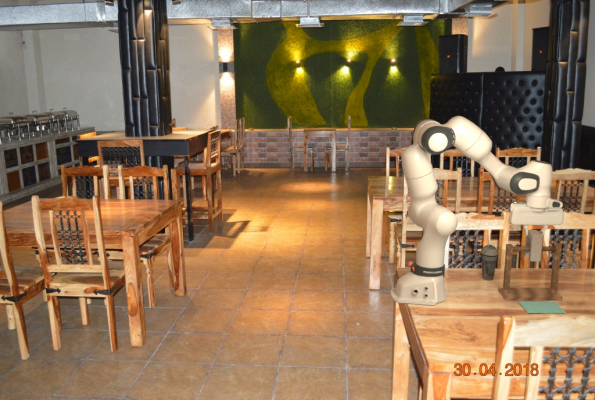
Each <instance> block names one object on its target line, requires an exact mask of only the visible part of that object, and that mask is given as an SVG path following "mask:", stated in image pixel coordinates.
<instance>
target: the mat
mask: <svg viewBox="0 0 595 400" xmlns="http://www.w3.org/2000/svg"><path fill="white" fill-rule="evenodd" d="M518 304H519V305H520V307H521V308H522V309H523V310H524V309H525V310H526V311H525V310H524V311H525V312H526V313H527V314H528V313H564V314H563V315H566V314H567V311H565V310H564V309H563V308H562V307H561V306H560V305H559V304H558V303H557V301H518Z"/></svg>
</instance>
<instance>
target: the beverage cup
mask: <svg viewBox="0 0 595 400" xmlns="http://www.w3.org/2000/svg"><path fill="white" fill-rule="evenodd" d="M480 257H481V272H482V273H481V274H482V277H481V278H482V280H484V281H493V280H494V277H495V272H496V266H497V260H498V257H499V251H498V248H497V247H495V245H492V244H490V241H489V235H488V234H487V244H486V245H484V246H483V247H482V248H481V252H480Z"/></svg>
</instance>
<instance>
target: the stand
mask: <svg viewBox="0 0 595 400" xmlns="http://www.w3.org/2000/svg"><path fill="white" fill-rule="evenodd" d="M524 251H530V246H525V245H524V246H523V245H522V246H518V245H517V246H516V245H515V246H514V245H513V244H511V243H506V244H505V255H504V270H503V281H502V287H497V291H498V293H500V295H501V296H502V297H503V299H504V300H505V301H507V302H509V301H513V302H514V301H518V302H557V301H560V302H562V301H563V296H562V295H561V294H559V292H558V287H559V286H558V284H559V276H560V265H561V258H562V257H561V255H562V244H560V243H554V244H553V246H551V245H549V246H548V245H546V246H545V245H542V251H541V252H553V255H552V267H551V276H550V286H549V287H511V275H512V265H513V264H512V262H513V252H524Z"/></svg>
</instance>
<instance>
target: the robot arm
mask: <svg viewBox="0 0 595 400" xmlns="http://www.w3.org/2000/svg"><path fill="white" fill-rule="evenodd" d="M410 142H411V145H408V146H407V147H406V148H404V149H403V150H402V152H401V154H400V156H401V158H400V159H401V167H402V171H403V175H404V178H405V183H406V185H407V188H408V192H409V193H408V194H409V202H410V203H409V204H410V205H409V206H408V209H407V217H408V218H409V220H410V221H412V223H413V224H415V225H416V226H418V227H420V228H421V229H423V235H422V238H421V239H420V240H419V241H418V242H417V243H416V248H415V249H416V250H415V251H416V255H415V262H413V261H412V260H409V261H408V263H407V264H408V266H409V268H410V270H409V271H408V272H406V273H405V274H403V275H402V276H400V277H399V278H398V279H397V282H396V286H395V287H392V288H391V290H390V292H389V294H390V298H391V299H392V300H393V301H394V302H396V303H398V304H411V305H423V306H436V305H438V304H439V303H441V302H444V301H446V300H447V298H448V297H447V294H446V288H445V275H446V265H445V252H446V245H447V242H448V239H449V237H450V236H451V235H452V234H453V233H455V231H456V229H457V228H458V225H459V224H458V223H459V221H458V217H457V215H456V214H455V213H454V212H453V211H452V210H450V209H449V208H446V207H445V206H442V205H440V204H438V203H437V200H436V192H437V190H438V187H439V186H438V182H437V179H436V175H435V171H434V168H433V164H432V159H431V156H432V155H435V156H436V155H437V156H438V155H441V154H444V153H445V152H447V150H449V149H450V148H452V147H454V148H456V149H457V150H458V151H459V152H461V154H463V155H464V156H465V157H467V158H468V159H470V160H472V161H474V162H476V163H478V164H479V165H480V166H481V168H482V169H484V170H485V171H486V172H487V173H488V174H489V175H490V177H491V179H492V181H493V184H495V186H496V187H497V188H499V189H500V190H503V191H506V192H508V193H512V194H514V195H519V196H521V195H522V196H523V195H525V201H524V200H523V201H517V200H516V201H514V202H511V204H510V205H509V215H508V222H509V223H510V225H513V226H521V225H522V228H523V230H524V235H525V236H530V231H528V230H529V229H528V227H529V226H541V227H542V228H541V229H540V230H538V231H539V232H540V233H542V234H543V237H544V236H545V232H546V230H548V226H562V225H563V224H564V219H565V217H564V215H565V214H564V209H563V207H564V204H563V202H562V201H561V200H558V199H556V198H553V197H551V187H552V183H553V166H552V164H551V163H550V162H546V161H542V160H538V159H537V160H536V159H533V160H531V161H530V162H529V163H527V164H526V165H524V166H522V167H519V168H518V167H514V166H513V165H509V164H505V163H503V162H502V161H501V160H500V159H499V158H498V157H496V156H495V155H494V154H493V153H492V148H493V141H492V139H491V138H490V137H489V136H488V135H487V133H486V132H485V131H484V130H483V129H481V128H480V127H479V126H478V125H476V124H475V123H474V122H473V121H471V120H469V119H468V118H466V117H464V116H461V115H456V116H453V117H451V118H450V119H448V121H447V122H446V123H443V124H441V123H440V122H438V121H436V120H435V119H432V118H424V119H421V120H419V121H418V122H417V123H416V124H415V126H414V127H413V132H412V136H411V140H410Z"/></svg>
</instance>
